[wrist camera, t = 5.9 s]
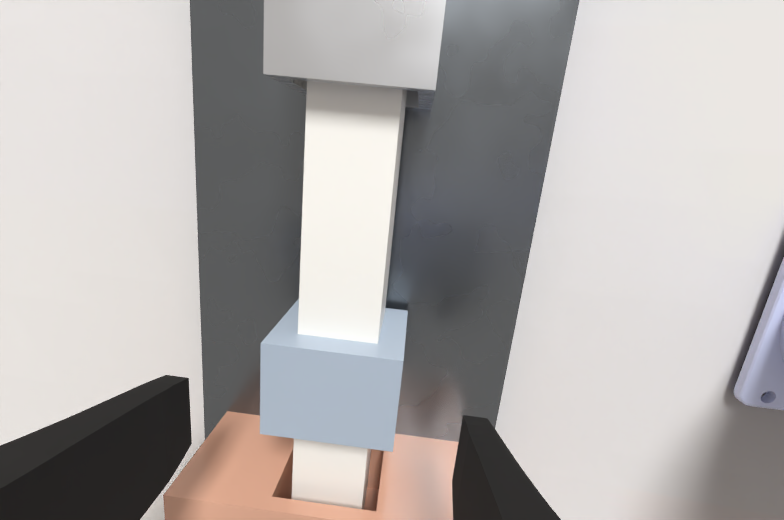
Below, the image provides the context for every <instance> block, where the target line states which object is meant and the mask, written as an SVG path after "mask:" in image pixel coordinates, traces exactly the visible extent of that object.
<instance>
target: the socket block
mask: <svg viewBox="0 0 784 520" xmlns="http://www.w3.org/2000/svg"><path fill="white" fill-rule="evenodd" d="M293 446H294V438H286V437H279V436H271V435H264V434H260V415H252V414H245V413H237V412H230V411H227V412H226V413H225V415H224V416H223V417H222V419H221V420H220V421H219V423H218V424H217V425H216V427H215V428H214V429H213V430H212V432H211V433H210V434H209V436H208V437H207V438H206V440H205V441H204V442H203V444H202V445H201V446H200V448H199V449H198V450H197V452H196V453H195V454H194V456H193V457H192V458H191V459H190V461H189V462H188V463H187V465H186V466H185V467H184V469H183V470H182V471H181V473H180V474H179V475H178V477H177V478H176V479H175V481H174V482H173V483H172V485H171V486H170V487H169V488H168V490H167V491H166V492H165V494H164V495H163V498H164V512H165V520H453V502H452V478H453V472H454V466H455V460H456V454H457V448H458V442H455V441H448V440H440V439H433V438H425V437H418V436H410V435H403V434H395V438H394V446H393V452H390V451H382V450H375V449H371V457H370V467H369V477H368V486H367V492H366V498H365V504H364V510H363V509H356V508H349V507H342V506H335V505H328V504H321V503H314V502H307V501H300V500H293V499H292V474H293Z"/></svg>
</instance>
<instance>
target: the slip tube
mask: <svg viewBox="0 0 784 520" xmlns="http://www.w3.org/2000/svg"><path fill="white" fill-rule="evenodd" d="M406 98H407V90H399V89H388V88H378V87H367V86H356V85H346V84H335V83H324V82H314V81H307V95H306V122H305V149H304V176H303V203H302V230H301V257H300V284H299V299H298V300H297V301H296V302H295V304H294V305H293V306H292V307H291V308H290V309H289V311H288V312H287V313H286V314H285V315H284V316H283V318H282V319H281V320H280V321H279V322H278V323H277V325H276V326H275V327H274V328H273V329H272V330H271V332H270V333H269V334H268V335H267V336H266V337H265V339H264V340H263V341H262V342H261V362H260V434H264V435H271V436H279V437H286V438H294V446H293V474H292V499H293V500H300V501H307V502H314V503H321V504H328V505H335V506H342V507H349V508H356V509H363V510H364V504H365V498H366V492H367V486H368V477H369V467H370V457H371V449H375V450H382V451H390V452H393V446H394V438H395V429H396V421H397V412H398V404H399V395H400V387H401V378H402V370H403V361H404V350H405V338H406V327H407V315H408V311H407V310H398V309H390V308H385V307H386V297H387V287H388V277H389V267H390V257H391V247H392V237H393V228H394V218H395V208H396V198H397V188H398V178H399V168H400V158H401V148H402V138H403V128H404V118H405V108H406Z"/></svg>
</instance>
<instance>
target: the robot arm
mask: <svg viewBox="0 0 784 520" xmlns="http://www.w3.org/2000/svg"><path fill="white" fill-rule="evenodd" d="M765 392H766V394H765V395H763V396H762V394H763V393H765ZM734 395H735V397H736V398H737V399H738V400H739V401H741V402H742V403H743V404H744V405H747V406H753V407H761V408H769V409H777V410H784V257H783V260H782V263H781V265H780V268H779V271H778V273H777V276H776V279H775V281H774V284H773V287H772V289H771V292H770V295H769V297H768V300H767V303H766V305H765V308H764V311H763V313H762V316H761V319H760V321H759V324H758V327H757V329H756V332H755V335H754V337H753V340H752V343H751V345H750V348H749V351H748V353H747V356H746V358H745V361H744V364H743V366H742V369H741V372H740V374H739V377H738V380H737V382H736V385H735V388H734ZM761 396H762V397H761ZM191 444H192V443H191V421H190V399H189V378H184V377H176V376H169V375H165V376H163V377H160V378H157V379H155V380H152V381H150V382H147V383H145V384H143V385H140V386H138V387H136V388H134V389H131V390H129V391H127V392H125V393H122V394H120V395H118V396H116V397H114V398H111V399H109V400H107V401H105V402H102V403H100V404H98V405H96V406H93V407H91V408H89V409H87V410H85V411H82V412H80V413H78V414H76V415H73V416H71V417H69V418H66V419H64V420H62V421H59V422H57V423H54V424H52V425H50V426H47V427H45V428H42V429H40V430H38V431H35V432H33V433H30V434H28V435H26V436H23V437H21V438H18V439H16V440H14V441H11V442H8V443H6V444H3V445H1V446H0V520H140V519H141V517H142V516H143V515H144V514H145V512H146V511H147V510H148V508H149V507H150V506H151V504H152V503H153V502H154V500H155V499H156V498H157V497H158V495H159V494H160V493H161V491H162V490H163V489H164V487H165V486H166V485H167V483H168V482H169V480H170V479H171V477H172V476H173V474H174V472H175V471H176V469H177V468H178V466H179V464H180V463H181V461H182V459H183V457H184V456H185V454H186V452H187V451H188V449H189V447H190V445H191ZM452 502H453V520H561V519H560V518H559V517H558V516H557V514H556V513H555V512H554V511H553V510H552V508H551V507H550V506H549V505H548V503H547V502H546V501H545V499H544V498H543V497H542V495H541V494H540V493H539V492H538V490H537V489H536V487H535V486H534V485H533V483H532V482H531V481H530V479H529V478H528V477H527V475H526V474H525V472H524V471H523V470H522V468H521V467H520V465H519V464H518V463H517V461H516V460H515V458H514V457H513V455H512V454H511V452H510V451H509V450H508V448H507V447H506V445H505V444H504V442H503V441H502V439H501V438H500V436H499V434H498V433H497V431H496V430H495V428H494V427H493V425H492V424H491V422H490V421H489V420H488V418H482V417H474V416H467V415H463V419H462V425H461V431H460V437H459V442H458V448H457V454H456V460H455V466H454V472H453V478H452Z"/></svg>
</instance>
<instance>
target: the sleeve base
mask: <svg viewBox="0 0 784 520" xmlns="http://www.w3.org/2000/svg"><path fill="white" fill-rule="evenodd" d="M578 4H579V0H190V17H191V46H192V75H193V104H194V134H195V163H196V192H197V221H198V250H199V279H200V308H201V337H202V366H203V395H204V424H205V440H206V438H207V437H208V436H209V434H210V433H211V432H212V430H213V429H214V428H215V427H216V425H217V424H218V423H219V421H220V420H221V419H222V417H223V416H224V415H225V413H226V412H227V411H230V412H237V413H245V414H252V415H260V362H261V342H262V341H263V340H264V339H265V337H266V336H267V335H268V334H269V333H270V332H271V330H272V329H273V328H274V327H275V326H276V325H277V323H278V322H279V321H280V320H281V319H282V318H283V316H284V315H285V314H286V313H287V312H288V311H289V309H290V308H291V307H292V306H293V305H294V304H295V302H296V301H297V300H298V299H299V284H300V257H301V230H302V203H303V176H304V149H305V122H306V95H307V81H314V82H324V83H335V84H346V85H356V86H367V87H378V88H388V89H399V90H407V98H406V108H405V118H404V128H403V138H402V148H401V158H400V168H399V178H398V188H397V198H396V208H395V218H394V228H393V237H392V247H391V257H390V267H389V277H388V287H387V297H386V307H385V308H390V309H398V310H407V311H408V315H407V327H406V338H405V350H404V361H403V370H402V378H401V387H400V395H399V404H398V412H397V421H396V429H395V434H403V435H410V436H418V437H425V438H433V439H440V440H448V441H455V442H459V437H460V431H461V425H462V419H463V415H467V416H474V417H482V418H488V420H489V421H490V422H491V424H492V425H493V427H494V428H495V425H496V420H497V415H498V410H499V405H500V400H501V395H502V390H503V385H504V380H505V374H506V369H507V364H508V359H509V354H510V349H511V344H512V339H513V334H514V329H515V324H516V319H517V314H518V309H519V303H520V298H521V293H522V288H523V283H524V278H525V273H526V268H527V263H528V258H529V253H530V248H531V243H532V238H533V232H534V227H535V222H536V217H537V212H538V207H539V202H540V197H541V192H542V187H543V182H544V177H545V172H546V167H547V161H548V156H549V151H550V146H551V141H552V136H553V131H554V126H555V121H556V116H557V111H558V106H559V101H560V96H561V90H562V85H563V80H564V75H565V70H566V65H567V60H568V55H569V50H570V45H571V40H572V35H573V30H574V25H575V19H576V14H577V9H578Z"/></svg>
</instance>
